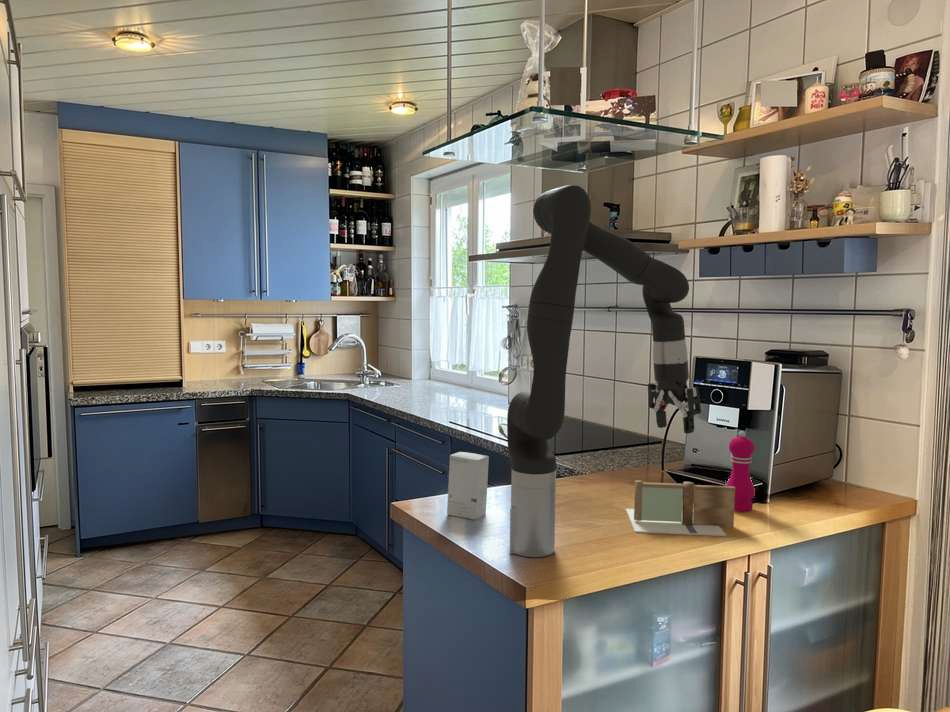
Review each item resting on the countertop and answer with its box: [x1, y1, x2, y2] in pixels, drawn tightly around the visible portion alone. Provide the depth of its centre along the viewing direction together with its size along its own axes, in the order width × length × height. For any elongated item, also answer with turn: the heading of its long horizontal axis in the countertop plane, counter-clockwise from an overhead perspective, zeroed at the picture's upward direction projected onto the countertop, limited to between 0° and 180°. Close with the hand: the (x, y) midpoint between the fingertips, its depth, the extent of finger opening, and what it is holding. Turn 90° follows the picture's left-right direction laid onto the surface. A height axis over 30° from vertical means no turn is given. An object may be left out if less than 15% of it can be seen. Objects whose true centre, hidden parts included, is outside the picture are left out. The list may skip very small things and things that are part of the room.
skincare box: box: [446, 451, 490, 521], centre depth 165 cm, size 8×6×15 cm
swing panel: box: [633, 479, 683, 522], centre depth 160 cm, size 11×2×9 cm, turn 84°
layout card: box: [625, 508, 727, 537], centre depth 161 cm, size 20×17×1 cm
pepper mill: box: [725, 430, 755, 513], centre depth 172 cm, size 7×7×20 cm
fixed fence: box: [682, 481, 735, 528], centre depth 158 cm, size 12×2×10 cm, turn 84°
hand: (675, 430), depth 155 cm, fingers open, 8 cm apart
